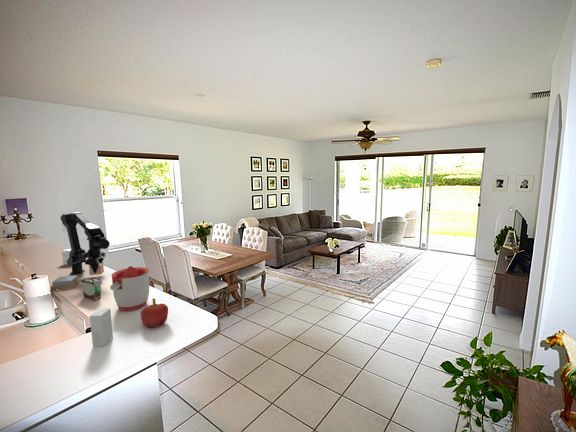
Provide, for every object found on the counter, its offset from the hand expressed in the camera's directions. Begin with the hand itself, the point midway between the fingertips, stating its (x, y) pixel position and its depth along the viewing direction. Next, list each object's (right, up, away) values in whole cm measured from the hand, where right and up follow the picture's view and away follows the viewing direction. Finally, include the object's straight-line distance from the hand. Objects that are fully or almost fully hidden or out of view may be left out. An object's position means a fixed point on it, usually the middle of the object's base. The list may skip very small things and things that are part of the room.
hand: (96, 271), depth 174 cm
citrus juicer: (+45, -9, -41) cm, 61 cm away
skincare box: (+51, -13, -70) cm, 88 cm away
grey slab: (-7, -4, -15) cm, 17 cm away
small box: (-38, 0, +28) cm, 48 cm away
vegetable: (+65, -11, -57) cm, 87 cm away
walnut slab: (-7, -6, -15) cm, 18 cm away
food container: (+20, -8, -30) cm, 37 cm away
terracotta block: (0, -1, 0) cm, 1 cm away
